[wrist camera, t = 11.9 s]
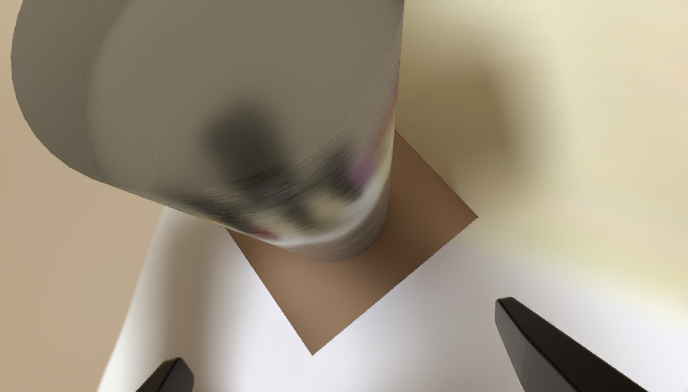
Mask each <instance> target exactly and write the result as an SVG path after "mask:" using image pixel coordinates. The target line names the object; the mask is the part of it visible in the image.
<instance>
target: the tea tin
mask: <svg viewBox="0 0 688 392" xmlns="http://www.w3.org/2000/svg"><path fill="white" fill-rule="evenodd" d="M403 12H404V0H23V3H22V6H21V9H20V11H19V14H18V17H17V21H16V26H15V30H14V34H13V42H12V52H11V68H12V80H13V84H14V89H15V94H16V98H17V101H18V104H19V106H20V108H21V111H22V113H23V116H24V118H25V120H26V121H27V123H28V125H29V126H30V128H31V129H32V131H33V132H34V134H35V136H36V137H37V138H38V139H39V140H40V141H41V142H42V144H43V145H44V146H45V147H46V148H47V149H48V150H49V151H50V152H51V153H52V154H53V155H55V156H56V157H57V158H58V159H60V160H61V161H62V162H64V163H65V164H66V165H68V166H69V167H70V168H72V169H74V170H76V171H78V172H80V173H82V174H84V175H86V176H88V177H90V178H92V179H94V180H97V181H100V182H102V183H105V184H108V185H111V186H113V187H117V188H119V189H122V190H124V191H127V192H130V193H133V194H136V195H139V196H141V197H144V198H146V199H149V200H152V201H155V202H157V203H160V204H163V205H166V206H168V207H171V208H174V209H176V210H179V211H182V212H185V213H187V214H190V215H193V216H196V217H198V218H201V219H204V220H207V221H209V222H212V223H215V224H218V225H220V226H223V227H226V228H229V229H231V230H234V231H237V232H240V233H242V234H245V235H248V236H251V237H253V238H256V239H259V240H262V241H264V242H267V243H270V244H272V245H275V246H278V247H281V248H283V249H286V250H289V251H292V252H294V253H297V254H300V255H303V256H305V257H308V258H311V259H314V260H317V261H322V262H340V261H345V260H348V259H351V258H354V257H356V256H358V255H360V254H361V253H363V252H364V251H366V250H367V249H368V248H369V247H370V246H371V245H372V244H373V243H374V242H375V241H376V240H377V239H378V237H379V235H380V234H381V232H382V230H383V228H384V226H385V223H386V219H387V214H388V204H389V191H390V179H391V166H392V153H393V140H394V127H395V114H396V102H397V89H398V76H399V63H400V50H401V37H402V25H403Z"/></svg>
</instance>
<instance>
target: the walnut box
mask: <svg viewBox="0 0 688 392" xmlns="http://www.w3.org/2000/svg"><path fill="white" fill-rule="evenodd" d="M476 218H478V216H477V215H476V214H475V213H474V212H473V211H472V210H471V209H470V208H469V207H468V206H467V205H466V204H465V202H464V201H463V200H462V199H461V198H460V197H459V196H458V195H457V194H456V193H455V192H454V191H453V190H452V189H451V188H450V187H449V186H448V185H447V184H446V183H445V182H444V181H443V180H442V178H441V177H440V176H439V175H438V174H437V173H436V172H435V171H434V170H433V169H432V168H431V167H430V166H429V165H428V164H427V163H426V162H425V161H424V160H423V159H422V158H421V157H420V156H419V155H418V153H417V152H416V151H415V150H414V149H413V148H412V147H411V146H410V145H409V144H408V143H407V142H406V141H405V140H404V139H403V138H402V137H401V136H400V135H399V134H398V133H397V132H396V131H395V129H394V140H393V153H392V166H391V179H390V191H389V204H388V214H387V219H386V223H385V226H384V228H383V230H382V232H381V234H380V235H379V237H378V239H377V240H376V241H375V242H374V243H373V244H372V245H371V246H370V247H369V248H368V249H367V250H366V251H364V252H363V253H361V254H360V255H358V256H356V257H354V258H351V259H348V260H345V261H340V262H322V261H317V260H314V259H311V258H308V257H305V256H303V255H300V254H297V253H294V252H292V251H289V250H286V249H283V248H281V247H278V246H275V245H272V244H270V243H267V242H264V241H262V240H259V239H256V238H253V237H251V236H248V235H245V234H242V233H240V232H237V231H234V230H231V229H229V228H226V229H227V230H228V232H229V233H230V235H231V236H232V238H233V239H234V241H235V242H236V244H237V245H238V247H239V248H240V250H241V251H242V253H243V254H244V255H245V257H246V258H247V260H248V261H249V263H250V264H251V266H252V267H253V269H254V270H255V272H256V273H257V275H258V276H259V278H260V279H261V281H262V282H263V284H264V285H265V287H266V288H267V289H268V291H269V292H270V294H271V295H272V297H273V298H274V300H275V301H276V303H277V304H278V306H279V307H280V309H281V310H282V312H283V313H284V315H285V316H286V318H287V319H288V320H289V322H290V323H291V325H292V326H293V328H294V329H295V331H296V332H297V334H298V335H299V337H300V338H301V340H302V341H303V343H304V344H305V346H306V347H307V349H308V350H309V352H310V353H311V354H312V356H313V355H314V354H315V353H316V352H317V351H319V350H320V349H321V348H322V347H323V346H325V345H326V344H327V343H328V342H329V341H331V340H332V339H333V338H334V337H335V336H337V335H338V334H339V333H340V332H341V331H343V330H344V329H345V328H346V327H347V326H349V325H350V324H351V323H352V322H353V321H355V320H356V319H357V318H358V317H359V316H360V315H362V314H363V313H364V312H365V311H366V310H368V309H369V308H370V307H371V306H372V305H374V304H375V303H376V302H377V301H378V300H380V299H381V298H382V297H383V296H384V295H386V294H387V293H388V292H389V291H390V290H392V289H393V288H394V287H395V286H396V285H398V284H399V283H400V282H401V281H402V280H404V279H405V278H406V277H407V276H408V275H410V274H411V273H412V272H413V271H414V270H415V269H417V268H418V267H419V266H420V265H421V264H423V263H424V262H425V261H426V260H427V259H429V258H430V257H431V256H432V255H433V254H435V253H436V252H437V251H438V250H439V249H441V248H442V247H443V246H444V245H445V244H447V243H448V242H449V241H450V240H451V239H453V238H454V237H455V236H456V235H457V234H459V233H460V232H461V231H462V230H463V229H465V228H466V227H467V226H468V225H469V224H471V223H472V222H473V221H474V220H475V219H476Z"/></svg>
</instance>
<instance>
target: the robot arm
mask: <svg viewBox="0 0 688 392" xmlns="http://www.w3.org/2000/svg"><path fill="white" fill-rule="evenodd" d="M495 322H496V326H497V329H498V331H499V333H500V336H501V338H502V341H503V343H504V345H505V348H506V350H507V352H508V355H509V357H510V360H511V362H512V364H513V367H514V369H515V371H516V374H517V376H518V378H519V380H520V383H521V385H522V387H523V389H524V391H525V392H648V391H647V390H645V389H644V388H642V387H641V386H639V385H638V384H637V383H635V382H634V381H632V380H631V379H629V378H628V377H626V376H625V375H624V374H622V373H621V372H619V371H618V370H616V369H615V368H614V367H612V366H611V365H609V364H608V363H606V362H605V361H604V360H602V359H601V358H599V357H598V356H596V355H595V354H593V353H592V352H591V351H589V350H588V349H586V348H585V347H583V346H582V345H581V344H579V343H578V342H576V341H575V340H573V339H572V338H571V337H569V336H568V335H566V334H565V333H563V332H562V331H560V330H559V329H558V328H556V327H555V326H553V325H552V324H550V323H549V322H548V321H546V320H545V319H543V318H542V317H540V316H539V315H538V314H536V313H535V312H533V311H532V310H530V309H529V308H527V307H526V306H525V305H523V304H522V303H520V302H519V301H517V300H516V299H515V298H512V297H506V298H500V299H497V300H496V306H495ZM193 385H194V375H193V373H192V371H191V370H190V368H189V367H188V365H187V364H186V363H185V361H184V360H183V359H182V358H181V357H176V358H171V359H167V360H165V361H164V362H163V363H162V364H161V365H160V366H159V367H158V368H157V369H156V370H155V371H154V373H153V374H152V375H151V376H150V377H149V378H148V379H147V380H146V381H145V382H144V383H143V384H142V385H141V387H140V388H139V389H138V390H137V391H136V392H192V391H193Z"/></svg>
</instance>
